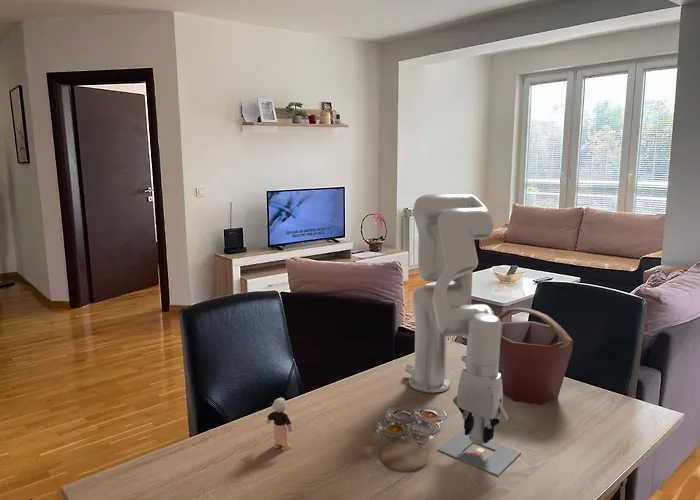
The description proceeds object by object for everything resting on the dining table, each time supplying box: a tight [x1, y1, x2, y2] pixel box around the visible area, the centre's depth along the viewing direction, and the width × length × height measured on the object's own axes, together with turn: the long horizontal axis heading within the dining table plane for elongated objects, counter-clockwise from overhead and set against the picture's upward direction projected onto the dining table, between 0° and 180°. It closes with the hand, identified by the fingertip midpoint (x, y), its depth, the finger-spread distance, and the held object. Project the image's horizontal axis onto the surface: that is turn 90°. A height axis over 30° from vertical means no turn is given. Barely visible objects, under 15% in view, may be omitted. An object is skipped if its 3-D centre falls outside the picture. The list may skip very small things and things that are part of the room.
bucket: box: [496, 307, 574, 406], centre depth 160 cm, size 24×22×25 cm
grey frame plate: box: [436, 429, 522, 477], centre depth 130 cm, size 16×12×1 cm
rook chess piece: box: [469, 413, 486, 445], centre depth 129 cm, size 4×4×8 cm
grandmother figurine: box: [265, 397, 294, 452], centre depth 132 cm, size 8×4×13 cm, turn 71°
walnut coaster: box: [380, 443, 429, 473], centre depth 127 cm, size 11×11×1 cm
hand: (478, 435), depth 130 cm, fingers closed on rook chess piece, 4 cm apart
